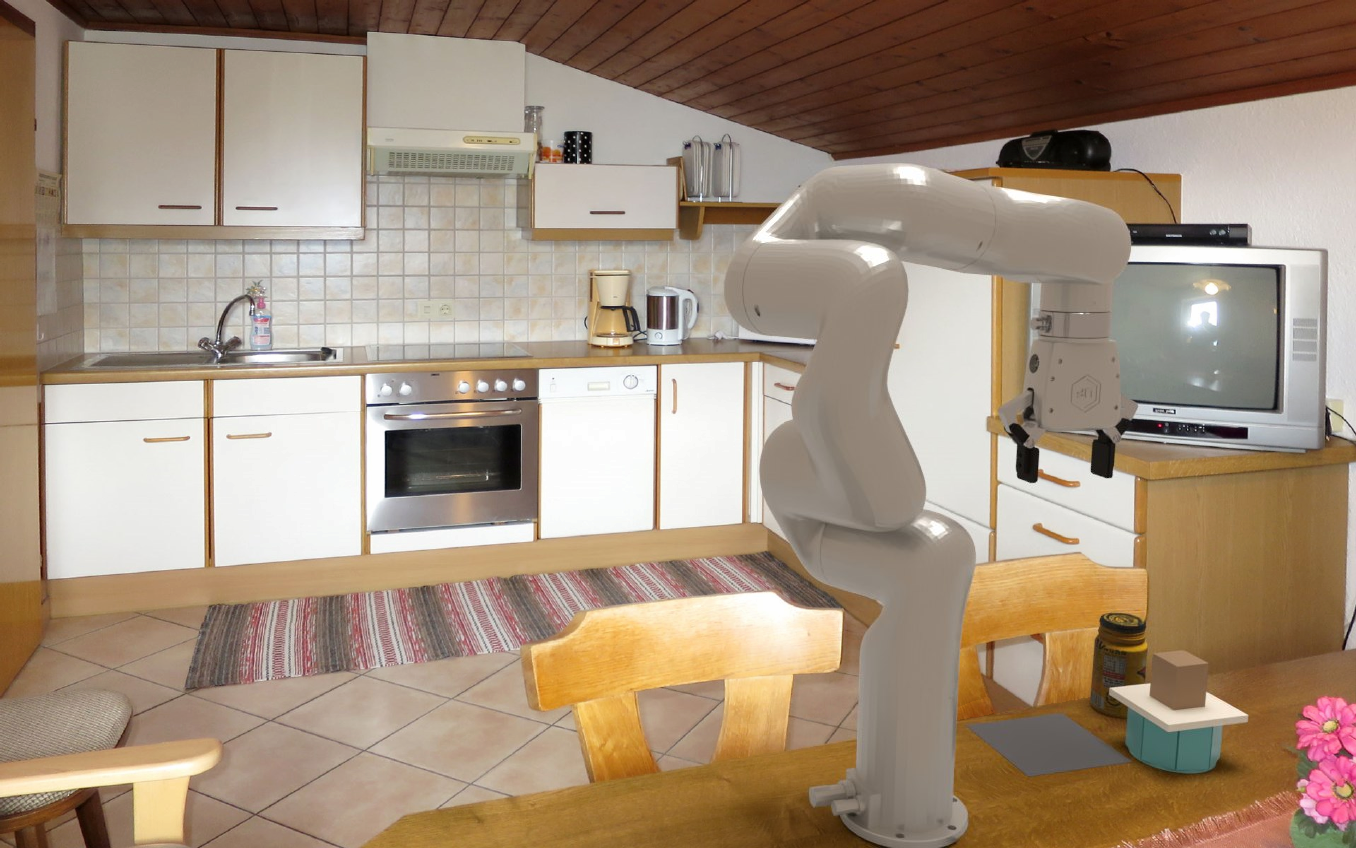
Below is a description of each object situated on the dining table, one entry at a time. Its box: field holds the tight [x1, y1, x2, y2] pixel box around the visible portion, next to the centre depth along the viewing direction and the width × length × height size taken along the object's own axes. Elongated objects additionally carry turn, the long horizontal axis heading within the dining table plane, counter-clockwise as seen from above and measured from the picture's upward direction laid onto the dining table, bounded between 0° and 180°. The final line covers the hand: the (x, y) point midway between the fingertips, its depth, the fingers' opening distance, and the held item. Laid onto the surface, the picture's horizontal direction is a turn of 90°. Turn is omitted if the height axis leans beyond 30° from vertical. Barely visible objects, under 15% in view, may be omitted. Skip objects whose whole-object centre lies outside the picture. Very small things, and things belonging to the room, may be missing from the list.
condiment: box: [1089, 612, 1149, 719], centre depth 134 cm, size 7×8×12 cm
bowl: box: [1125, 707, 1224, 774], centre depth 123 cm, size 9×9×6 cm
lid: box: [1109, 649, 1249, 732], centre depth 122 cm, size 10×10×6 cm
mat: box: [965, 712, 1133, 778], centre depth 126 cm, size 13×13×1 cm
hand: (1064, 478), depth 126 cm, fingers open, 9 cm apart
